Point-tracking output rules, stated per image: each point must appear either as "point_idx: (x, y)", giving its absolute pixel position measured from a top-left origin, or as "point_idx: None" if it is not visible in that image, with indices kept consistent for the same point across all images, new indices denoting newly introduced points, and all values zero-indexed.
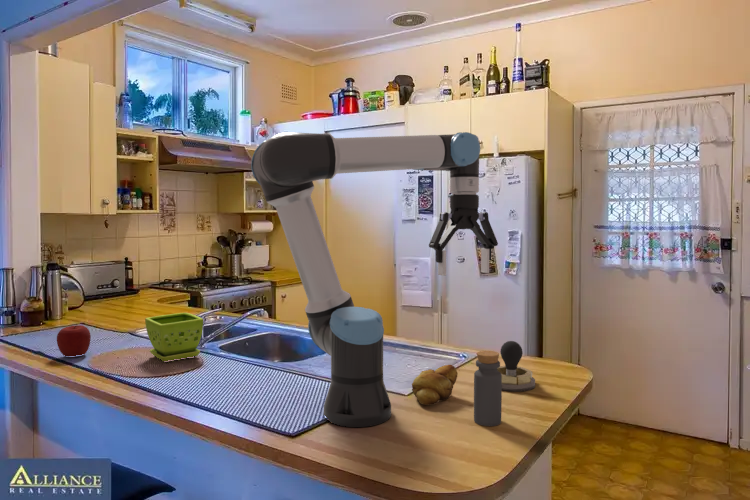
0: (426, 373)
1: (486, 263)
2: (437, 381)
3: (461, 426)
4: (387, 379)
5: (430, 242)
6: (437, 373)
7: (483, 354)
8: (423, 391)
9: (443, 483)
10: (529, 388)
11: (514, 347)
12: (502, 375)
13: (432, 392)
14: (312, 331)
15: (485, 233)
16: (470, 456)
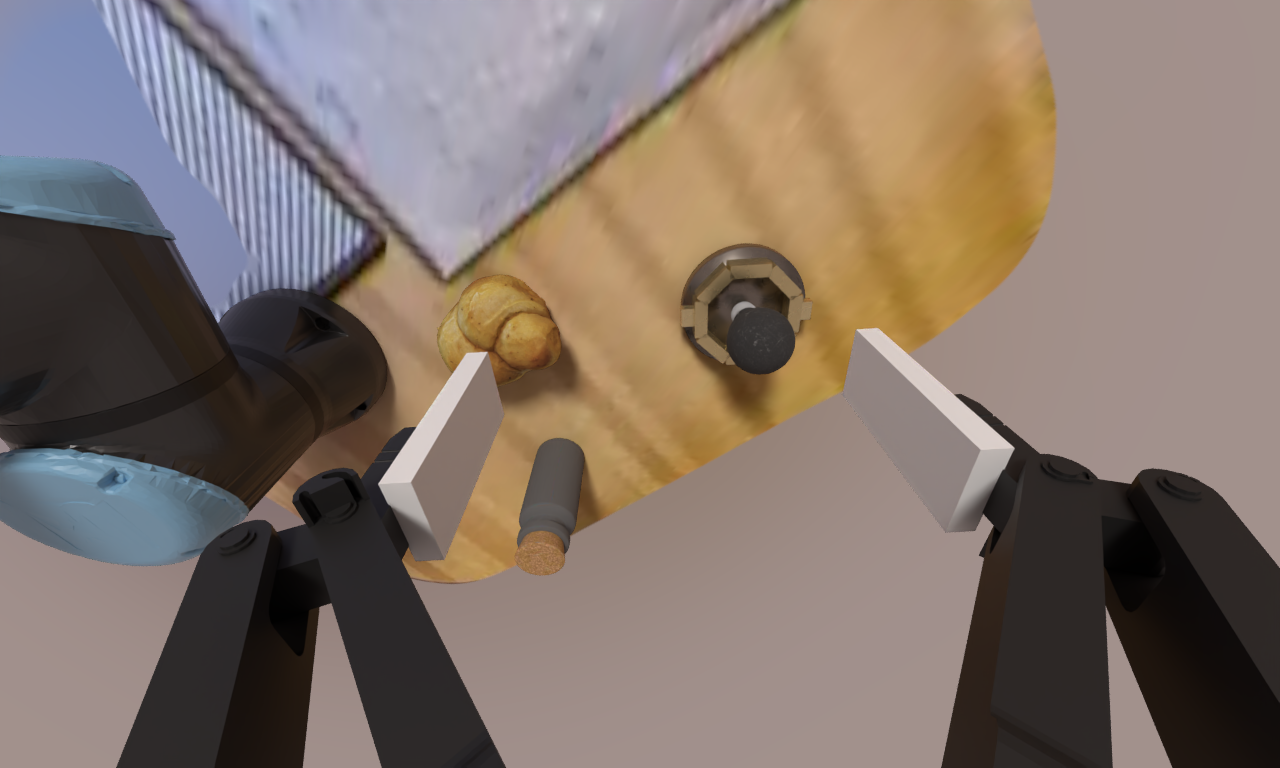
0: (472, 339)
1: (875, 432)
2: None
3: (507, 458)
4: (414, 117)
5: (201, 588)
6: (499, 355)
7: (524, 564)
8: None
9: (423, 567)
10: None
11: (755, 372)
12: (700, 339)
13: None
14: None
15: (1218, 645)
16: (480, 532)
